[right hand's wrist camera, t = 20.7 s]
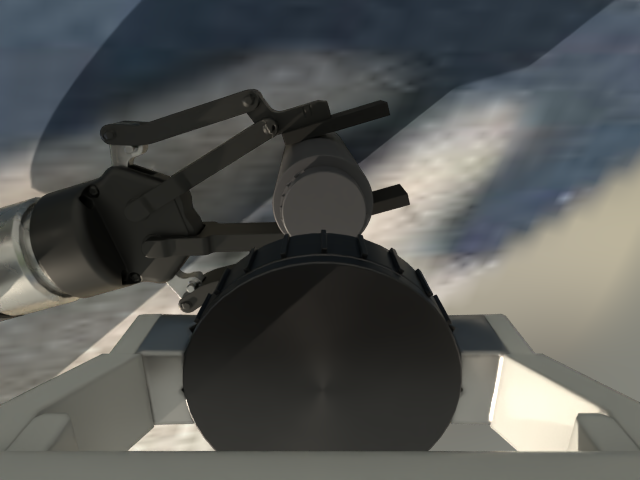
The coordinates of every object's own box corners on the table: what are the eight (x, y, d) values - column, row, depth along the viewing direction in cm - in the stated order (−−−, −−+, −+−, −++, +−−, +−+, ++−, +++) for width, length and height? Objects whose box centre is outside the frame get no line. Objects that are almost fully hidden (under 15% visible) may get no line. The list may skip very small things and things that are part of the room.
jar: (278, 183, 34) (263, 253, 21) (289, 119, 33) (279, 150, 19) (339, 194, 35) (364, 269, 21) (353, 132, 33) (389, 170, 19)
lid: (431, 205, 9) (454, 231, 7) (454, 419, 11) (476, 474, 9) (166, 254, 9) (137, 289, 8) (236, 453, 11) (223, 510, 10)
